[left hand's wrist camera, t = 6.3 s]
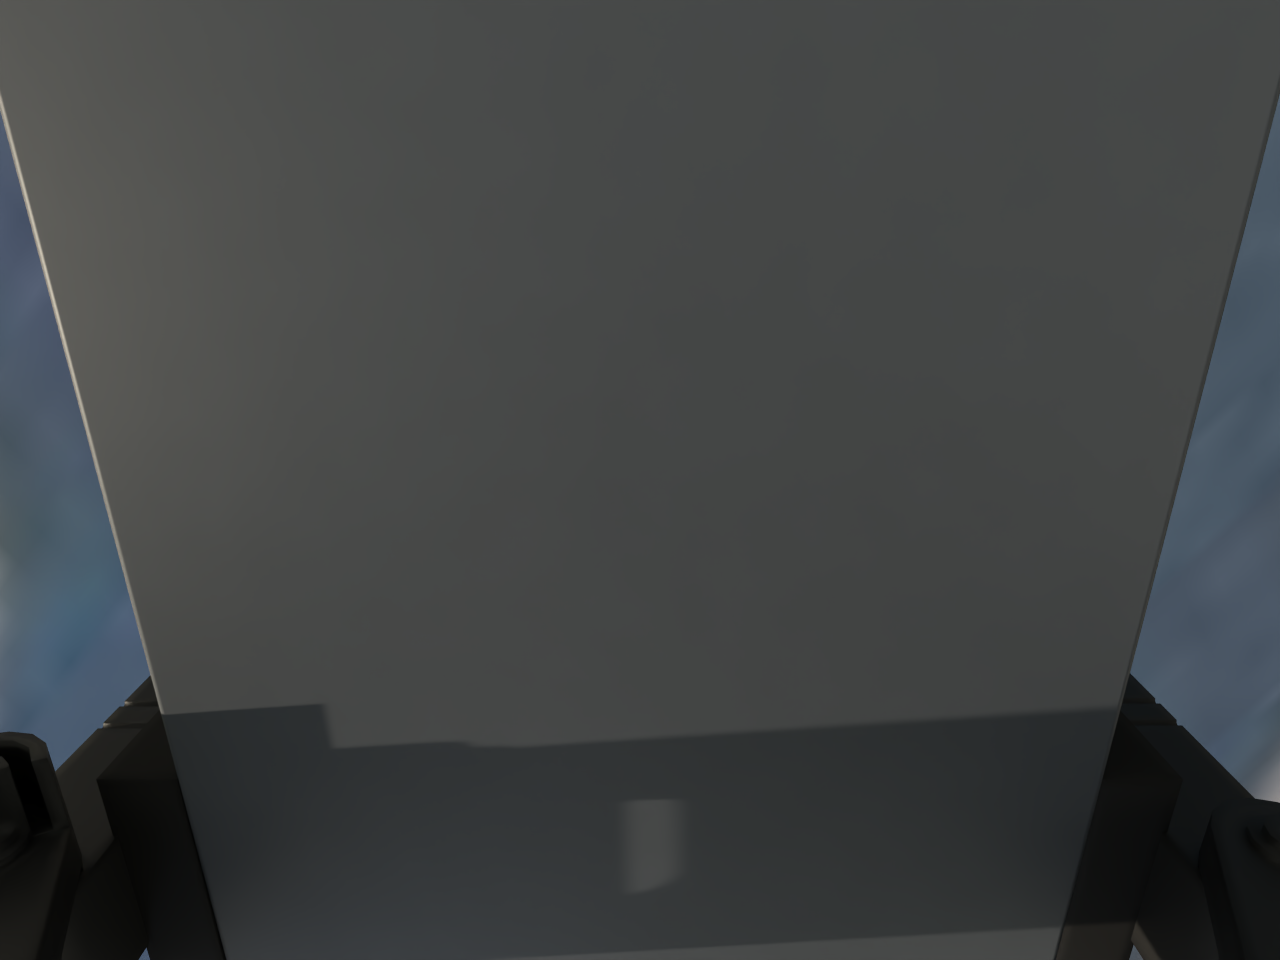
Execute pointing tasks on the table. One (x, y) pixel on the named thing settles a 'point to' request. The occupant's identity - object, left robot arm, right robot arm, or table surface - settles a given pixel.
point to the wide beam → (639, 443)
